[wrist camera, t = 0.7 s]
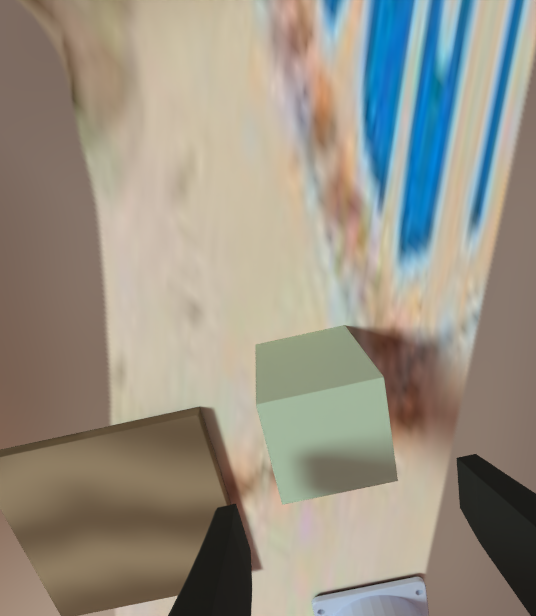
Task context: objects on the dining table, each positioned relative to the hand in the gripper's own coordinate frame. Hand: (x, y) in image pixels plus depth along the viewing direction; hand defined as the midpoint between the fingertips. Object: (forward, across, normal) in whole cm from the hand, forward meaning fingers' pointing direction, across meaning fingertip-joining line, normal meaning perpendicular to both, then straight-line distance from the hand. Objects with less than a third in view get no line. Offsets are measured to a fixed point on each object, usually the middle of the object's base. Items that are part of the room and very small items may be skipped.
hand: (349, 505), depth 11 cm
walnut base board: (+9, +13, +7) cm, 17 cm away
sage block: (+9, 0, 0) cm, 9 cm away
